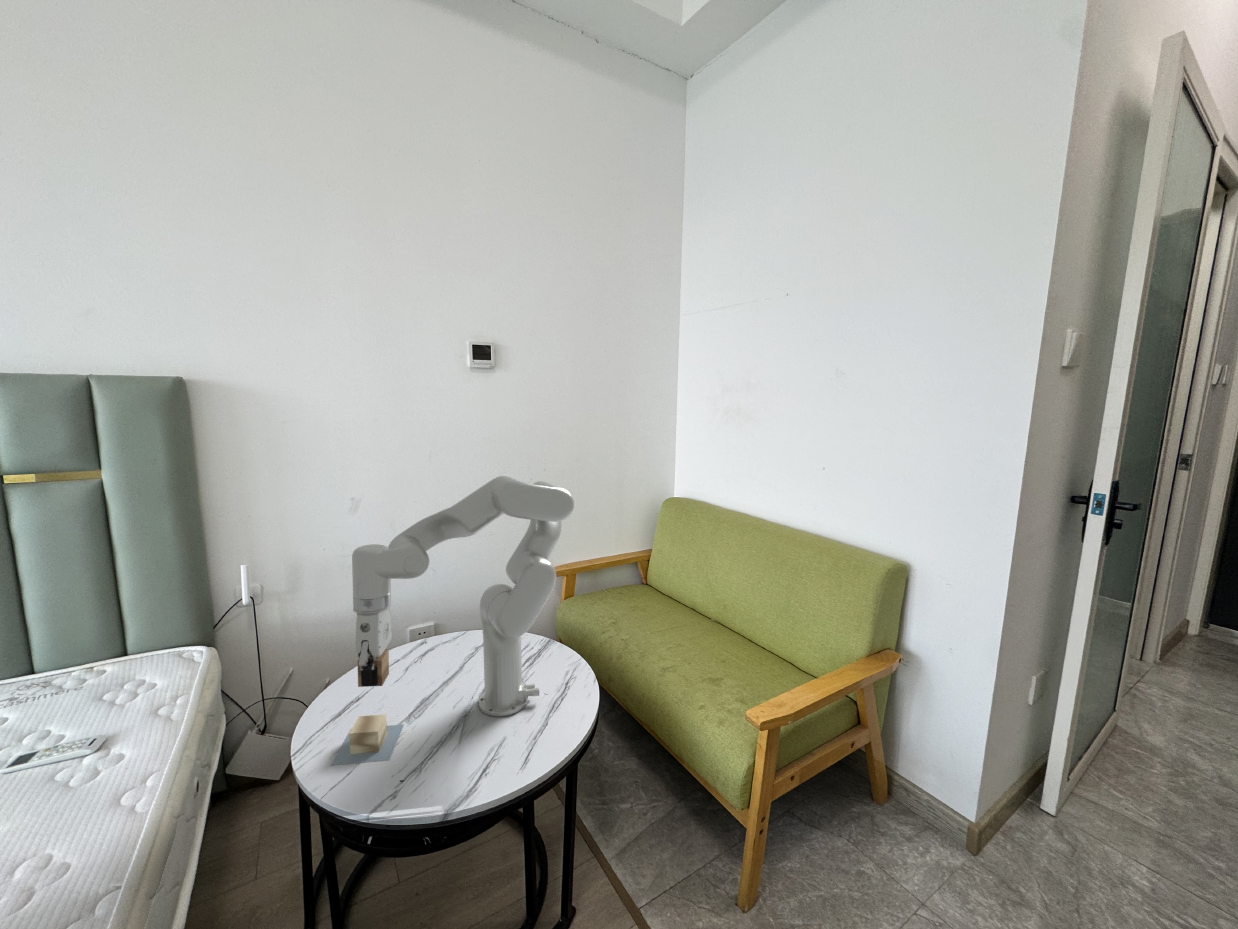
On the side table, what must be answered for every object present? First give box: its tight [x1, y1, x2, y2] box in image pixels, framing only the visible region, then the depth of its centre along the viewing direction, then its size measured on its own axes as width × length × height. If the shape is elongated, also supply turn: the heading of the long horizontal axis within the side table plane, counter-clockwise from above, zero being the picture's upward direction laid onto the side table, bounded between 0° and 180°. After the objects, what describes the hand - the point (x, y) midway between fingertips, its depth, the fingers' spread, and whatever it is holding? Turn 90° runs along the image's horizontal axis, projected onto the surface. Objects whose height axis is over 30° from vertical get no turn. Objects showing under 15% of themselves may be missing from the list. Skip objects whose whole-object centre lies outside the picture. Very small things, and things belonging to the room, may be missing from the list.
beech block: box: [348, 713, 388, 754], centre depth 114 cm, size 6×6×5 cm
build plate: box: [330, 723, 405, 767], centre depth 115 cm, size 12×12×1 cm
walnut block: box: [357, 648, 390, 688], centre depth 113 cm, size 5×5×6 cm
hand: (373, 677), depth 113 cm, fingers closed on walnut block, 5 cm apart
